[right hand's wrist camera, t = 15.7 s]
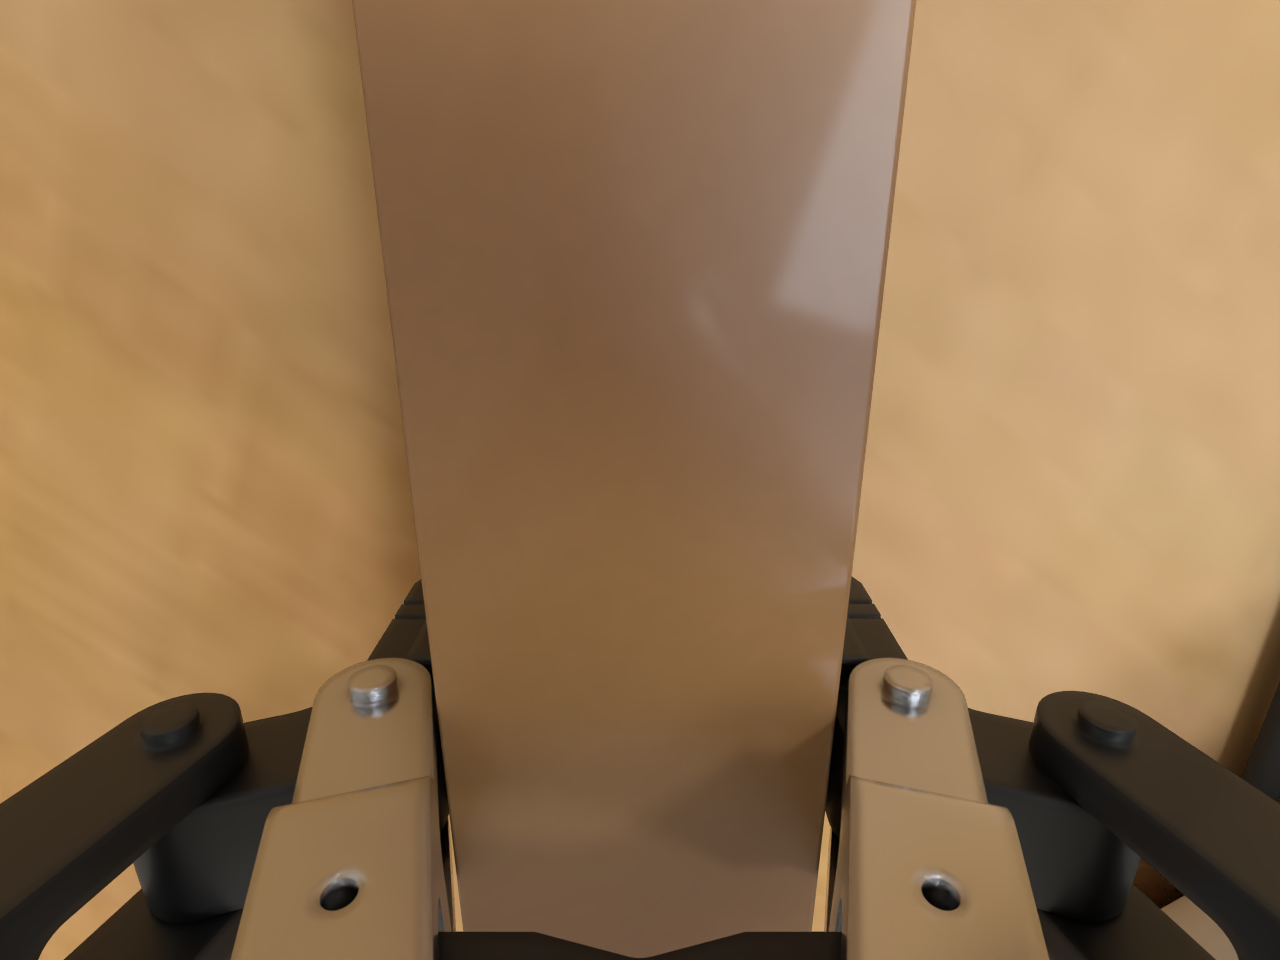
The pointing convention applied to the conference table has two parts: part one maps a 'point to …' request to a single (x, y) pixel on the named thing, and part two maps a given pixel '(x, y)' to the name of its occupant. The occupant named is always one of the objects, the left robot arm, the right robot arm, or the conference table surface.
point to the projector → (1201, 928)
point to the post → (635, 432)
